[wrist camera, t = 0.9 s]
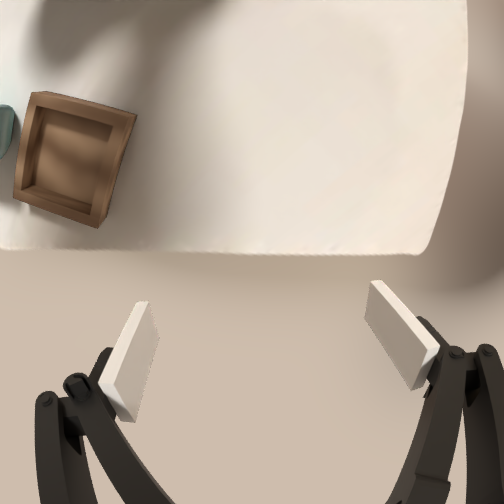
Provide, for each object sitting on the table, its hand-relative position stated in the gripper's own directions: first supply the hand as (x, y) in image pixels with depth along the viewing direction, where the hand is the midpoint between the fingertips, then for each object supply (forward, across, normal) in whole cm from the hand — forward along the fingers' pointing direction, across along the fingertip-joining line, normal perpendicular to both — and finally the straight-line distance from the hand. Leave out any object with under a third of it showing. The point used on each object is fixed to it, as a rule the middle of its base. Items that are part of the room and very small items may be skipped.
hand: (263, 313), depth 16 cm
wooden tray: (+22, -23, +12) cm, 34 cm away
